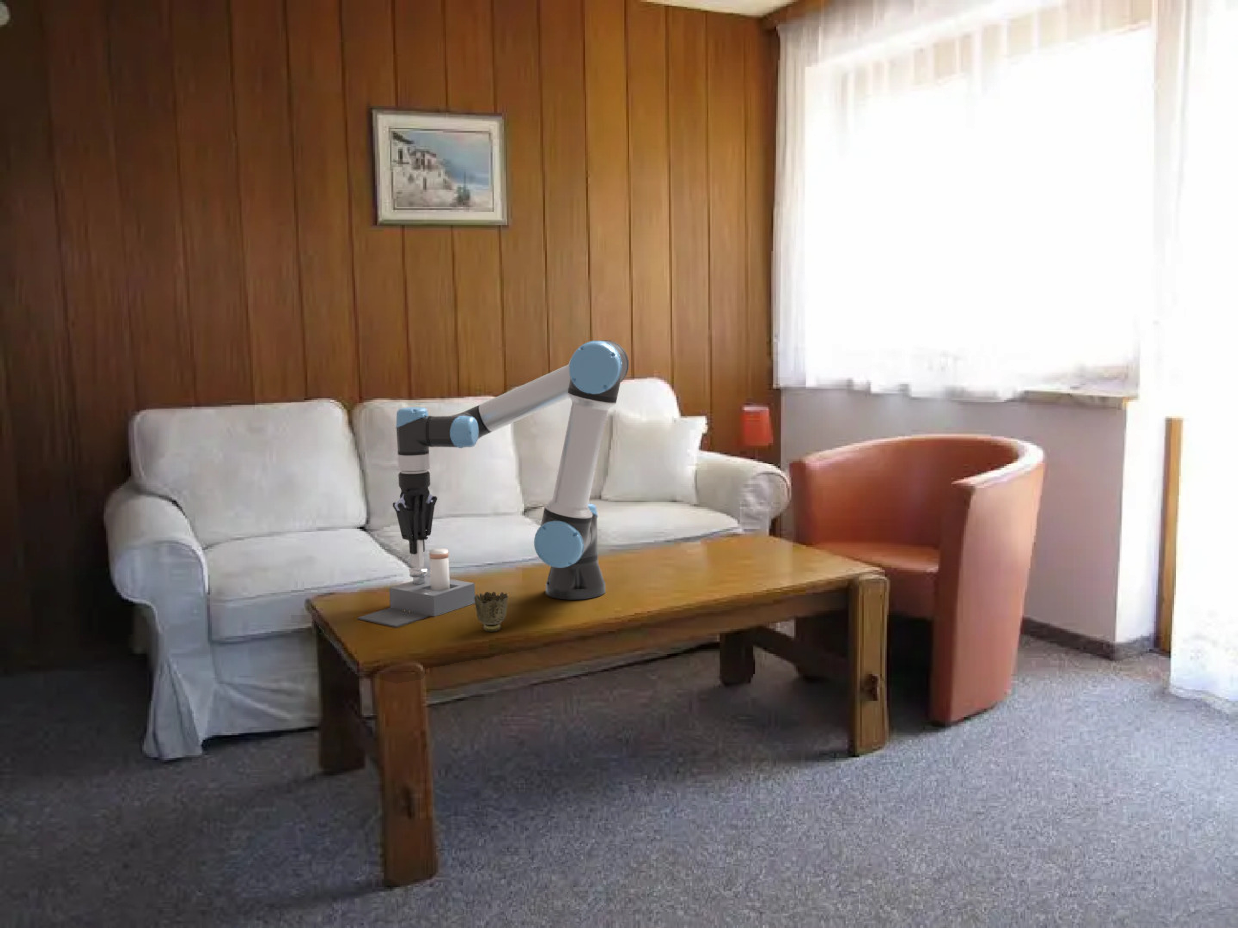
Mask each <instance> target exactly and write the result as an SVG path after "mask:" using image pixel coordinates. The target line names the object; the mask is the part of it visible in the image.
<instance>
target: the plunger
mask: <svg viewBox="0 0 1238 928" xmlns="http://www.w3.org/2000/svg"><path fill="white" fill-rule="evenodd" d="M428 572H429V569H428V568H427V567H425V566H423V567H411V568H409V577H410V578H412V581H413V584H417V585H420V584H424V583H425V577H428V575H429V573H428Z"/></svg>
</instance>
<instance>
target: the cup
mask: <svg viewBox="0 0 1238 928" xmlns="http://www.w3.org/2000/svg"><path fill="white" fill-rule="evenodd" d="M508 597H509V596H508V594H507V593H504V592H503V591H502V592H500V593H499V594H496V592H495V591H493V592H492V593H491V592H489V591H486V592H485V593H483V594H482V593H479V594H475V597H474V600H475V603H474V605H475V611H476V616H477V618H478V621H479V622H480V623H481V624H483V629H484V631H486V632H489V633H493V632H498V631H499V630H500V628H501V623H502V622H503V621H504V620H505V619H506V615H507V610H508V609H507V608H508Z"/></svg>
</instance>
